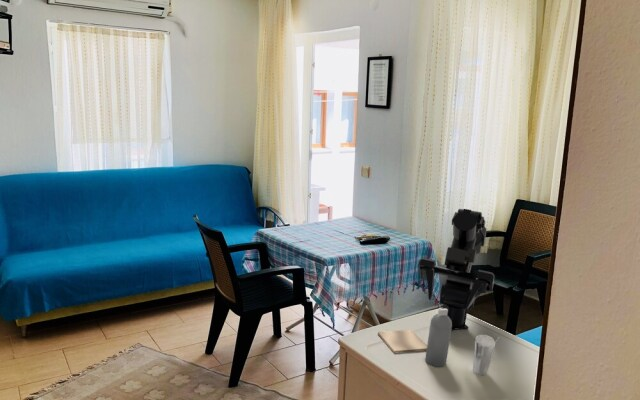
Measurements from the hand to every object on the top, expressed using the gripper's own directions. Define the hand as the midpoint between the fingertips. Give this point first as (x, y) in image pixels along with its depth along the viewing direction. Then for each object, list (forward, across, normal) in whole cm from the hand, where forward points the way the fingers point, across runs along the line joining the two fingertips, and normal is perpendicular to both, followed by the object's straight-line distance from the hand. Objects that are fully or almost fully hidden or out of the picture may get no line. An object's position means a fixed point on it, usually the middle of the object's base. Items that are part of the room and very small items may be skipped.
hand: (447, 304), depth 125 cm
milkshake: (+12, +11, +6) cm, 18 cm away
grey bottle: (+13, 0, +5) cm, 14 cm away
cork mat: (+10, -10, +9) cm, 16 cm away
